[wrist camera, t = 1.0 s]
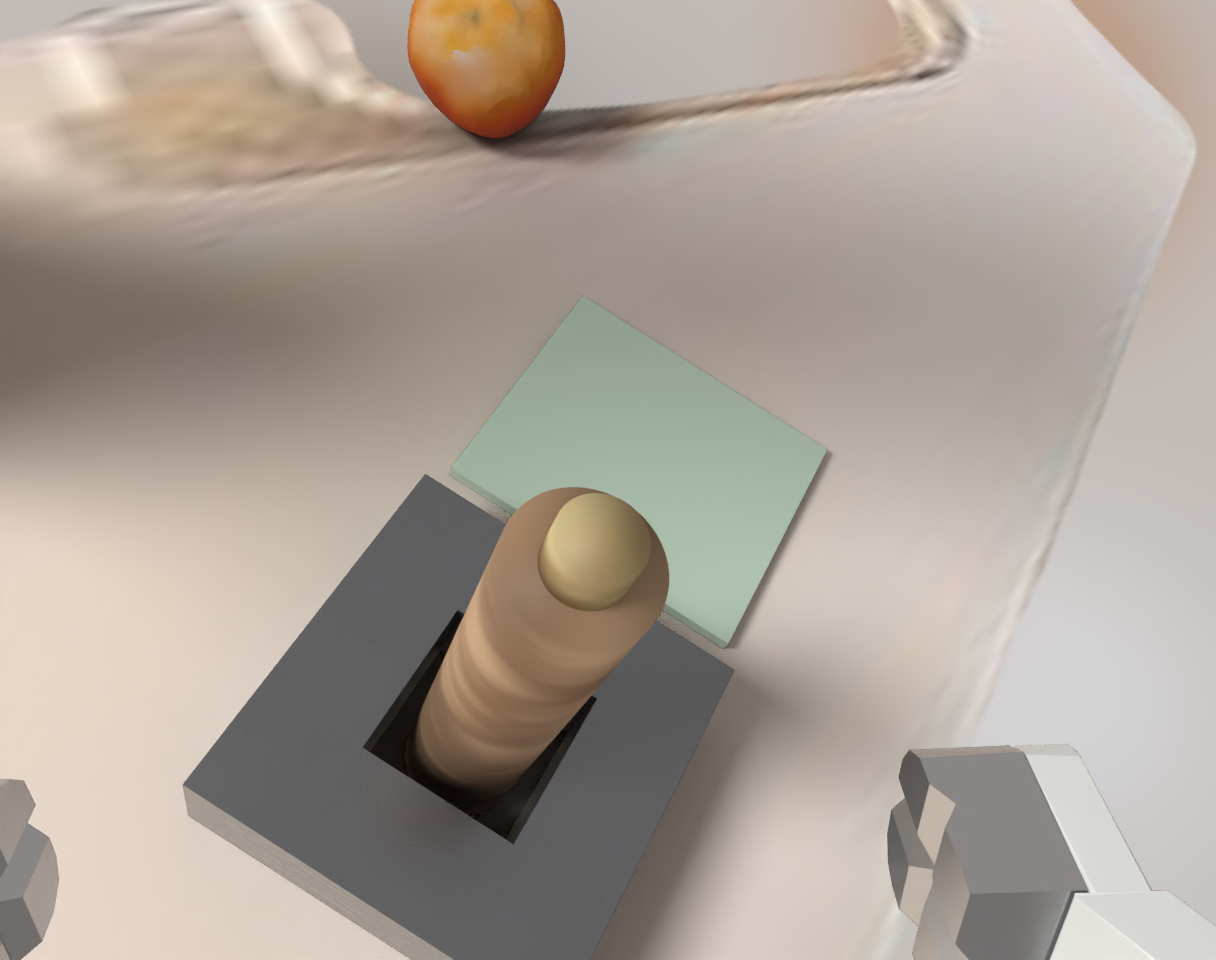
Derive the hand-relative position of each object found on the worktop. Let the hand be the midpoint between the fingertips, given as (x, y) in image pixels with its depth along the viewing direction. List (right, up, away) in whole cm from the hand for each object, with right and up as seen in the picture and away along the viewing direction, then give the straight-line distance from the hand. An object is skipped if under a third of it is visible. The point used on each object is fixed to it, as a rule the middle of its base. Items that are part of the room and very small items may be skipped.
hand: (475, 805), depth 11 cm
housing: (-4, -7, +32) cm, 33 cm away
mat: (+3, +4, +41) cm, 41 cm away
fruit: (-6, +23, +49) cm, 54 cm away
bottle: (-4, -7, +32) cm, 33 cm away
